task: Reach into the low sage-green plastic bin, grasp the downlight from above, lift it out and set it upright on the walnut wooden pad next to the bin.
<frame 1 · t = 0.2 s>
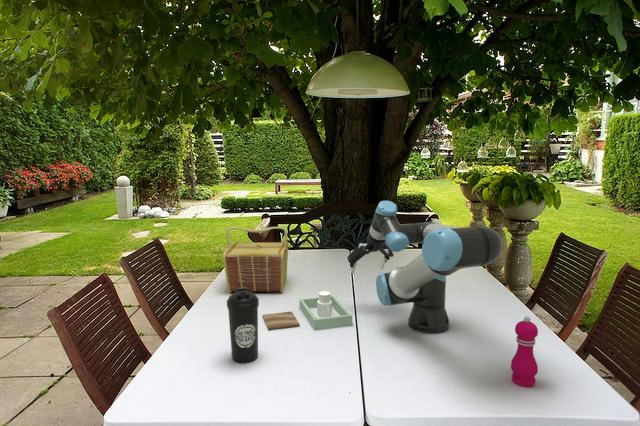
hand: (366, 269, 198), 16 cm above the table, tool tilted 35°, fingers open, 13 cm apart
downlight: (324, 317, 187), resting in bin
pepper mill: (523, 382, 136), on the table
pad: (280, 321, 183), on the table
water bottle: (245, 357, 153), on the table
bin: (324, 316, 187), on the table
picnic basket: (258, 288, 225), on the table
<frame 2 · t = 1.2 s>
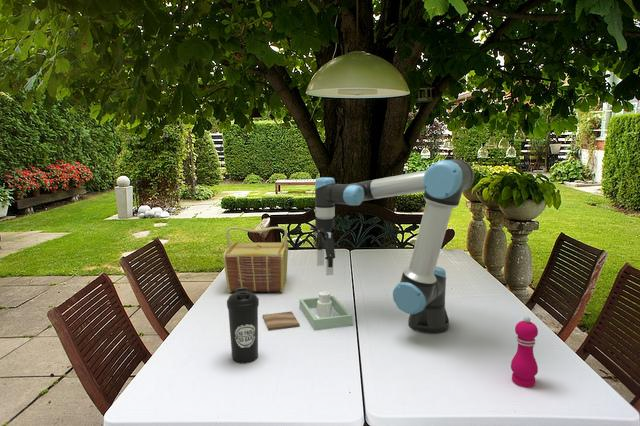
hand: (324, 270, 185), 19 cm above the table, tool pointing down, fingers open, 13 cm apart
nothing on the table moved.
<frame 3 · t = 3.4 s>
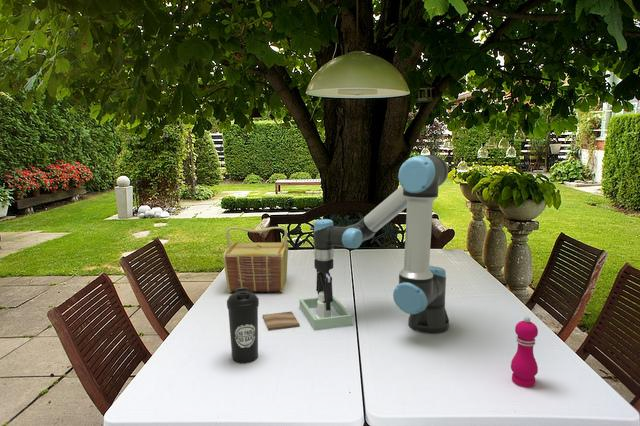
hand: (324, 313, 187), 1 cm above the table, tool pointing down, fingers closed on downlight, 8 cm apart
downlight: (324, 317, 187), resting in bin, touching gripper
everything else where it was.
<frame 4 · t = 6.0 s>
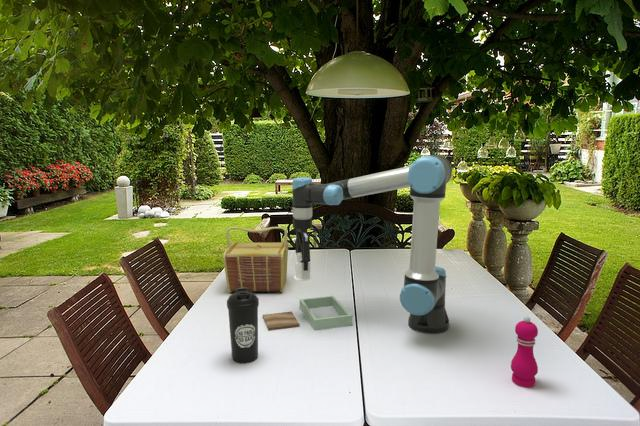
hand: (302, 274, 183), 18 cm above the table, tool pointing down, fingers closed on downlight, 8 cm apart
downlight: (302, 278, 183), point 17 cm above the table, touching gripper
everything else where it was.
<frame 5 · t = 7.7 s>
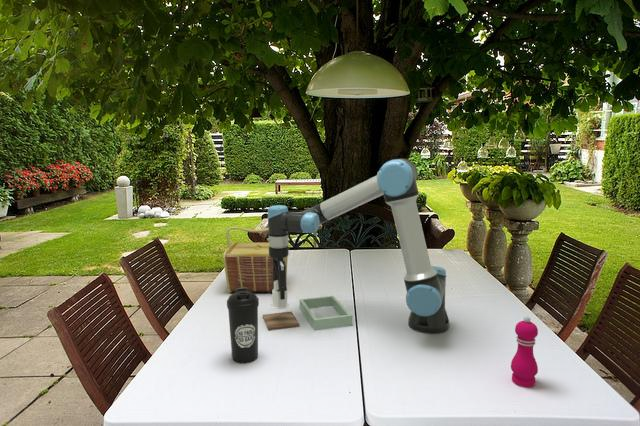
hand: (280, 302, 181), 8 cm above the table, tool pointing down, fingers closed on downlight, 8 cm apart
downlight: (280, 306, 182), point 6 cm above the table, touching gripper
everything else where it was.
when the fingers open (4 cm above the table, at t = 9.0 s): downlight drops 1 cm, resting on pad.
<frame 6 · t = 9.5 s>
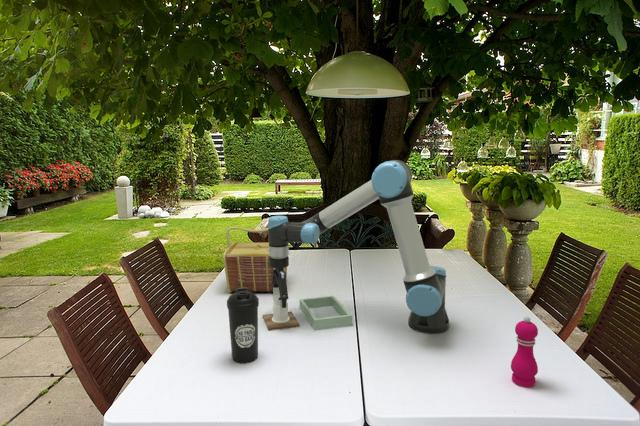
hand: (280, 309, 182), 5 cm above the table, tool pointing down, fingers open, 13 cm apart
downlight: (280, 319, 182), point 1 cm above the table, touching pad
everything else where it was.
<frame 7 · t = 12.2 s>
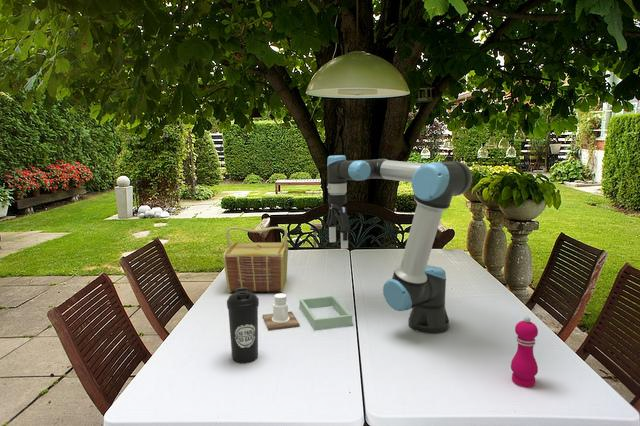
hand: (338, 245, 191), 27 cm above the table, tool pointing down, fingers open, 13 cm apart
nothing on the table moved.
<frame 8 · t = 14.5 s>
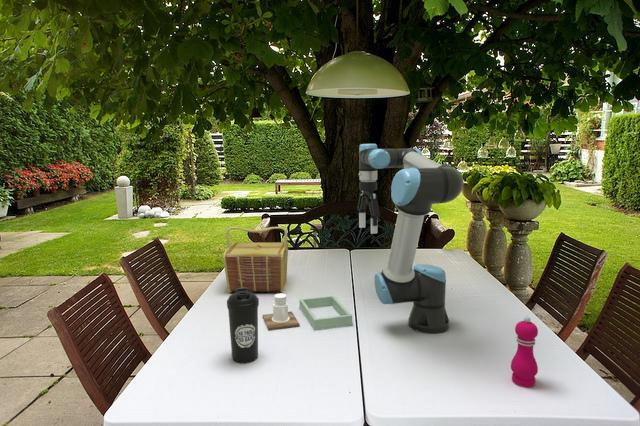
hand: (368, 230, 199), 32 cm above the table, tool pointing down, fingers open, 13 cm apart
nothing on the table moved.
at the end: downlight inside the target area on the pad (0.1 cm from its centre), point 0.8 cm above the pad's base; downlight tilted 0°; the gripper is holding nothing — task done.
